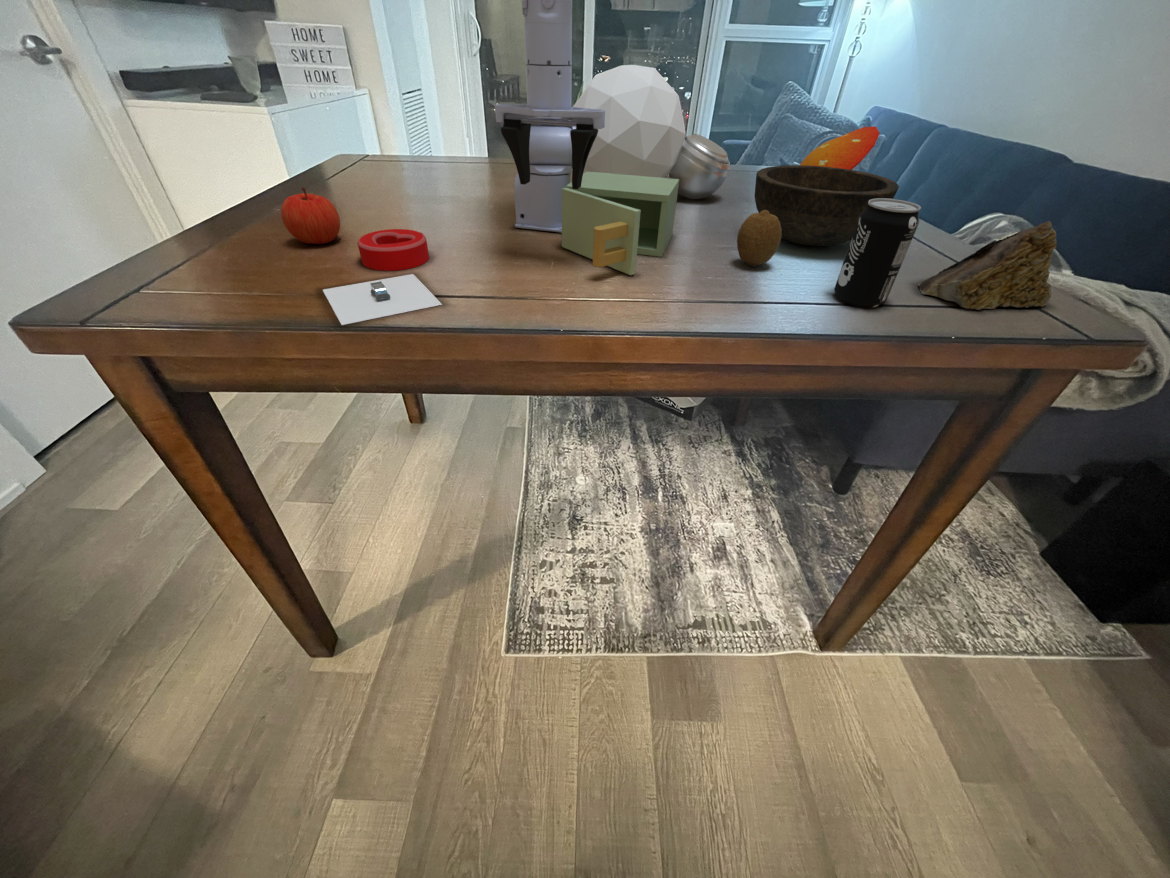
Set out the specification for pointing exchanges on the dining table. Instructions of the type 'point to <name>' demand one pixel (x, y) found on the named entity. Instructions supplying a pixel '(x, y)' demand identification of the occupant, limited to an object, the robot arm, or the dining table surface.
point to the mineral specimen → (1000, 273)
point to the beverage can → (876, 251)
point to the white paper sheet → (379, 298)
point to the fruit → (759, 238)
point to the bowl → (818, 200)
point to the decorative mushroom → (844, 149)
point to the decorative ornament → (393, 249)
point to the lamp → (649, 133)
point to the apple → (310, 218)
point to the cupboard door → (600, 230)
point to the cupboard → (639, 204)
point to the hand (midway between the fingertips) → (550, 185)
